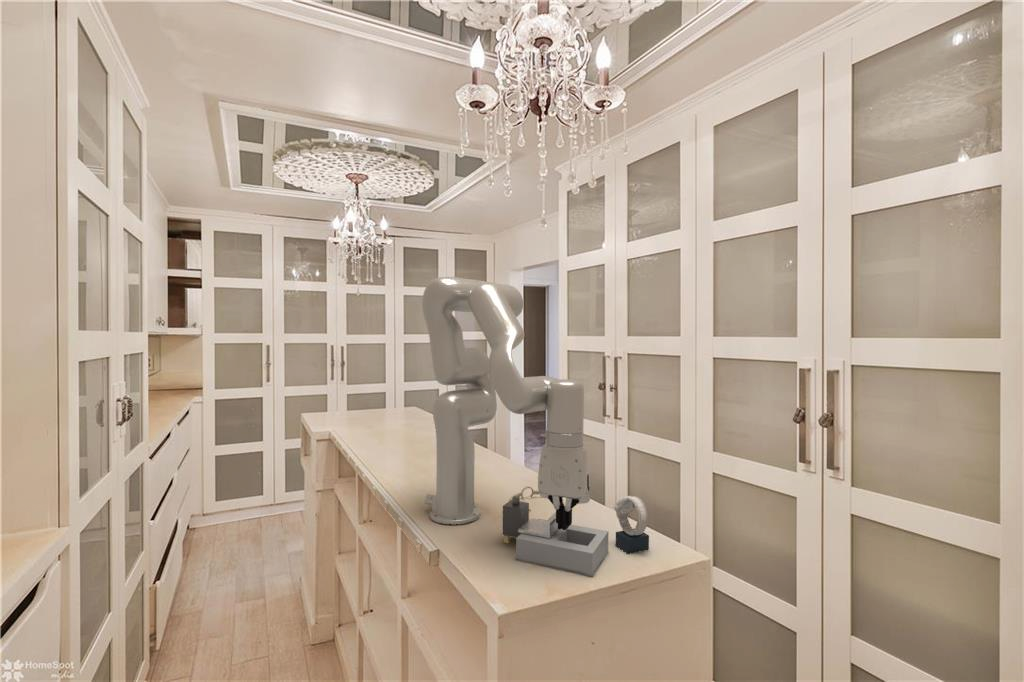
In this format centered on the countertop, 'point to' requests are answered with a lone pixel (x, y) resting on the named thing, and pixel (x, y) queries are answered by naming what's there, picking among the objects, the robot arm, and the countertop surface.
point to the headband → (522, 493)
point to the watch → (630, 537)
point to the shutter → (540, 527)
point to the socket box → (565, 549)
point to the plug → (514, 517)
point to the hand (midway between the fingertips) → (563, 527)
